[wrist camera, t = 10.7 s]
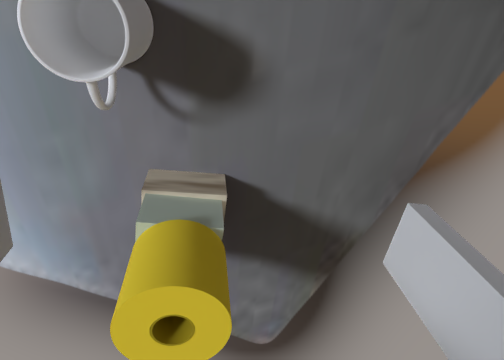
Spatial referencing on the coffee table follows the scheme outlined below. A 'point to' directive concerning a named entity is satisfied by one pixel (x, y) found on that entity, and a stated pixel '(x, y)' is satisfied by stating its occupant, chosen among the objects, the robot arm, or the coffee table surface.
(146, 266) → the yellow hollow cylinder
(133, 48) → the mug
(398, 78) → the coffee table surface
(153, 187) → the base block
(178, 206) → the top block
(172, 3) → the coffee table surface
